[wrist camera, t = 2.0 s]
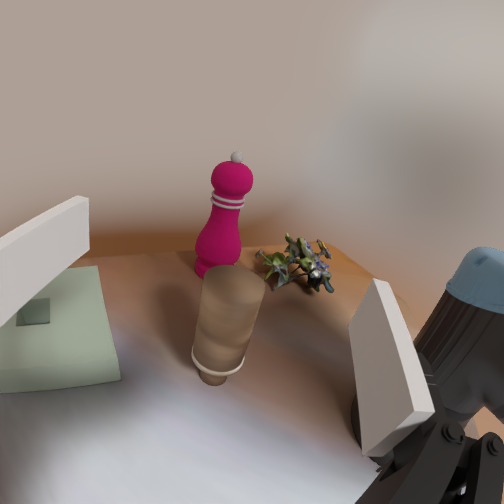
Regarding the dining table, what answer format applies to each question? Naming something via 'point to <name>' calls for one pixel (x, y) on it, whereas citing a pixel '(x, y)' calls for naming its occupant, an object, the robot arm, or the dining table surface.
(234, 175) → the pepper mill
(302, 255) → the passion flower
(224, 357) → the walnut peg
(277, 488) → the dining table surface
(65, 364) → the sage board
